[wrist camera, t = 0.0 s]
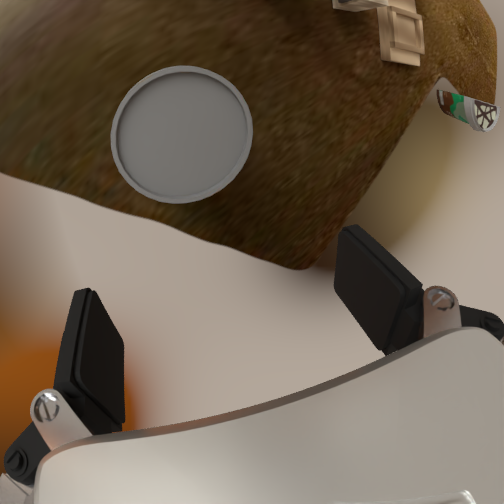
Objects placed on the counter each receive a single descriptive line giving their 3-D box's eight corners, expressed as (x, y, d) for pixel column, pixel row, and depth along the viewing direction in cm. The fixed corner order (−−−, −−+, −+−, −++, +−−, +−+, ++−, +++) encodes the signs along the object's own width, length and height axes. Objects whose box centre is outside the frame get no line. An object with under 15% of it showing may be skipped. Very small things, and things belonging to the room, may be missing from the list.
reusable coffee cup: (231, 79, 33) (269, 77, 21) (214, 166, 39) (240, 210, 27) (135, 68, 29) (117, 58, 17) (124, 160, 35) (104, 203, 23)
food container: (430, 118, 44) (470, 132, 36) (432, 88, 40) (472, 98, 32) (463, 122, 46) (498, 136, 38) (465, 96, 43) (501, 107, 35)
